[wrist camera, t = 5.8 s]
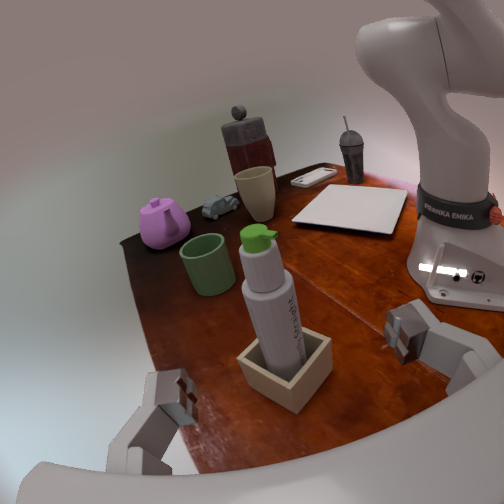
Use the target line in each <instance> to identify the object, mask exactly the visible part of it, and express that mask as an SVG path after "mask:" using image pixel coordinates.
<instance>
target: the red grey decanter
mask: <svg viewBox="0 0 504 504" xmlns="http://www.w3.org/2000/svg"><path fill="white" fill-rule="evenodd" d="M246 114H247V113H246V109H245V107H244V106H242V105H238V106H234V107H233V108H232V116H233V118H234V119H235V120H238V121H234V122H231V123H228V124H225V125H223V126H222V127H221V130H222V134H223V137H224V141H225V144H226V148H227V152H228V156H229V160H230V164H231V167H232V171H233V175H234V176H235V175H236V174H237V173H239V172H241V171H244V170H247V169H250V168H254V167H261V166H267V167H271V168H272V173H273V180H274V187H275V192H277V191H279V189H278V184H277V180H276V175H275V170H274V166H276V161H275V157H274V152H273V148H272V144H271V141H270V139H269V137H268V136H267V135H266V130H265V126H264V122H263V119H262V118H261V117H255V118H247V119H244V118H245V117H246ZM235 182H236V181H235ZM236 186H237V184H236ZM237 190H238V187H237ZM238 193H239V197H240V198H241V195H240V192H239V190H238Z"/></svg>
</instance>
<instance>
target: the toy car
mask: <svg viewBox="0 0 504 504" xmlns="http://www.w3.org/2000/svg"><path fill="white" fill-rule="evenodd" d="M237 204H239V201H238V200H237V199H236V198H235V199H234V198H233V197H232V196H228V197H225V198H224V197H220V196H217V195H216V196H214V197H212V198H210V199H208V200H206V201H205V202H204V204H203V211H202V215H204V216H206V217H208V218H212V219H214V220H216V219H218V215H219V214H220V215H222V214H224V213H226V212H228V211H230V210H236V209H237Z"/></svg>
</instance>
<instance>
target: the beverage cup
mask: <svg viewBox="0 0 504 504" xmlns="http://www.w3.org/2000/svg"><path fill="white" fill-rule="evenodd" d="M344 121H345V124H346V129H347V131H346V132H344V133H343V134H342V135H341V137H340V145H339V146H340V148H341V151H342V154H343V158H344V163H345V168H346V173H347V177H348V181H349V183H351V184H360V183H362V182H363V147H364V146H363V145H364V143H363V139H362V137H361V136H360V134H358V133H357V132H355V131H349V130H348V126H347V122H346V118H345V116H344Z"/></svg>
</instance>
